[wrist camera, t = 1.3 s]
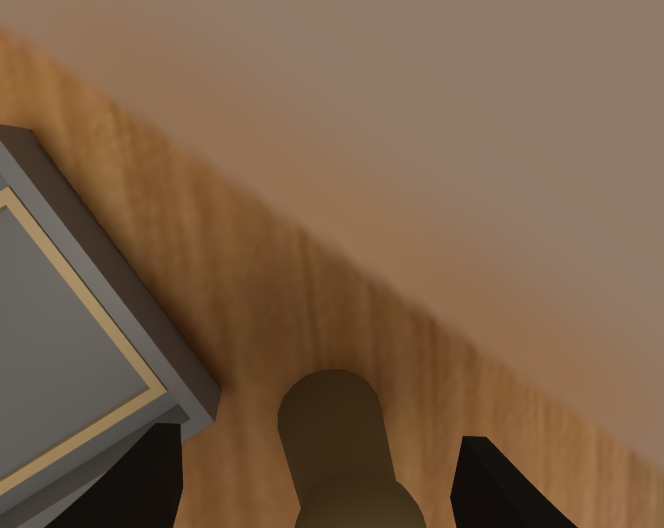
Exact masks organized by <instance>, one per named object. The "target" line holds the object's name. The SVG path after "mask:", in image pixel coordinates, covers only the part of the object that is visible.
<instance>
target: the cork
mask: <svg viewBox="0 0 664 528" xmlns="http://www.w3.org/2000/svg"><path fill="white" fill-rule="evenodd" d="M278 431H279V434H280V438H281V441H282V445H283V448H284V452H285V455H286V458H287V462H288V465H289V469H290V472H291V476H292V479H293V482H294V486H295V489H296V493H297V496H298V500H299V503H300V506H301V510H300V513H299V515H298V518H297V521H296V524H295V528H426V524H425V521H424V517H423V515H422V512H421V510H420V508H419V506H418V504H417V503H416V502H415V500H414V499H413V498H412V497H411V495H410V494H409V493H408V491H407V490H406V489H405V488H404V487H403V486H402V485H401V484H400V483H399V482H397V481H396V479H395V474H394V469H393V464H392V459H391V455H390V450H389V445H388V440H387V435H386V430H385V426H384V421H383V416H382V411H381V407H380V404H379V400H378V397H377V395H376V393H375V392H374V390H373V389H372V388H371V386H370V385H369V384H368V383H367V382H366V381H364V380H363V379H361V378H360V377H358V376H357V375H355V374H352V373H349V372H345V371H342V370H323V371H320V372H317V373H314V374H311V375H308V376H306V377H305V378H303V379H302V380H300V381H299V382H298V383H296V384H295V385H293V387H292V388H291V389H290V390H289V392H288V393H287V394H286V396H285V397H284V398H283V401H282V403H281V406H280V409H279V412H278Z"/></svg>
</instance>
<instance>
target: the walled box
mask: <svg viewBox="0 0 664 528" xmlns="http://www.w3.org/2000/svg"><path fill="white" fill-rule="evenodd" d="M221 390H222V389H221V388H220V387H219V385H218V384H217V383H216V381H215V380H214V378H213V377H212V376H211V374H210V373H209V372H208V370H207V369H206V368H205V366H204V365H203V364H202V362H201V361H200V360H199V358H198V357H197V355H196V354H195V353H194V351H193V350H192V349H191V347H190V346H189V345H188V343H187V342H186V341H185V339H184V338H183V337H182V335H181V334H180V333H179V331H178V330H177V328H176V327H175V326H174V324H173V323H172V322H171V320H170V319H169V318H168V316H167V315H166V314H165V312H164V311H163V310H162V308H161V307H160V305H159V304H158V303H157V301H156V300H155V299H154V297H153V296H152V295H151V293H150V292H149V291H148V289H147V288H146V287H145V285H144V284H143V282H142V281H141V280H140V278H139V277H138V276H137V274H136V273H135V272H134V270H133V269H132V268H131V266H130V265H129V264H128V262H127V261H126V260H125V258H124V257H123V255H122V254H121V253H120V251H119V250H118V249H117V247H116V246H115V245H114V243H113V242H112V241H111V239H110V238H109V237H108V235H107V234H106V232H105V231H104V230H103V228H102V227H101V226H100V224H99V223H98V222H97V220H96V219H95V218H94V216H93V215H92V214H91V212H90V211H89V209H88V208H87V207H86V205H85V204H84V203H83V201H82V200H81V199H80V197H79V196H78V195H77V193H76V192H75V191H74V189H73V188H72V187H71V185H70V184H69V182H68V181H67V180H66V178H65V177H64V176H63V174H62V173H61V172H60V170H59V169H58V168H57V166H56V165H55V164H54V162H53V161H52V159H51V158H50V157H49V155H48V154H47V153H46V151H45V150H44V149H43V147H42V146H41V145H40V143H39V142H38V141H37V139H36V138H35V136H34V135H33V134H32V132H31V131H30V130H29V129H24V128H18V127H13V126H7V125H1V124H0V528H44V527H45V526H46V525H47V524H49V523H50V522H51V521H52V520H54V519H55V518H56V517H57V516H58V515H60V514H61V513H62V512H63V511H64V510H65V509H66V508H68V507H69V506H70V505H71V504H72V503H73V502H74V501H75V500H77V499H78V498H79V497H80V496H81V495H82V494H83V493H85V492H86V491H87V490H88V489H89V488H90V487H91V486H92V485H93V484H94V483H95V482H96V481H98V480H99V479H100V478H101V477H102V476H103V475H104V474H105V473H106V472H107V471H108V470H109V469H110V468H111V467H112V466H113V465H114V464H115V463H116V462H117V461H118V460H119V459H120V458H121V457H122V456H123V455H124V454H125V453H126V452H127V451H128V450H129V449H130V448H131V447H132V446H133V445H134V444H135V443H136V442H137V441H138V440H139V439H140V438H141V437H142V436H143V435H144V434H145V433H146V432H147V431H148V430H149V429H150V428H151V426H153V425H154V424H155V423H174V424H181V443H183V442H184V441H186V440H188V439H189V438H191V437H193V436H194V435H196V434H197V433H199V432H201V431H202V430H204V429H205V428H207V427H209V426H210V425H212V424H213V423H215V419H216V414H217V409H218V405H219V400H220V395H221Z"/></svg>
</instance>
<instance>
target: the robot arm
mask: <svg viewBox="0 0 664 528" xmlns="http://www.w3.org/2000/svg"><path fill="white" fill-rule="evenodd" d="M182 490H183V470H182V446H181V424H174V423H155V424H154V425H153V426H151V428H150V429H149V430H148V431H147V432H146V433H145V434H144V435H143V436H142V437H141V438H140V439H139V440H138V441H137V442H136V443H135V444H134V445H133V446H132V447H131V448H130V449H129V450H128V451H127V452H126V453H125V454H124V455H123V456H122V457H121V458H120V459H119V460H118V461H117V462H116V463H115V464H114V465H113V466H112V467H111V468H110V469H109V470H108V471H107V472H106V473H105V474H104V475H103V476H102V477H101V478H100V479H99V480H98V481H96V482H95V483H94V484H93V485H92V486H91V487H90V488H89V489H88V490H87V491H86V492H85V493H83V494H82V495H81V496H80V497H79V498H78V499H77V500H75V501H74V502H73V503H72V504H71V505H70V506H69V507H68V508H66V509H65V510H64V511H63V512H62V513H61V514H60V515H58V516H57V517H56V518H55V519H54V520H52V521H51V522H50V523H49V524H47V525H46V526H45V527H44V528H173V525H174V521H175V518H176V514H177V510H178V506H179V502H180V498H181V494H182ZM450 499H451V504H452V508H453V513H454V518H455V523H456V527H457V528H578V527H576V526H575V525H574V524H573V523H572V522H571V521H570V520H569V519H568V518H566V517H565V516H564V515H563V514H562V513H561V512H560V511H559V510H558V509H557V508H556V507H555V506H554V505H553V504H552V503H551V502H550V501H549V500H547V499H546V498H545V497H544V496H543V495H542V494H541V493H540V492H539V491H538V490H537V489H536V488H535V487H534V486H533V485H532V484H531V483H530V482H529V481H528V480H527V479H526V478H525V477H524V475H523V474H522V473H521V472H520V471H519V470H518V469H517V468H516V467H515V466H514V465H513V464H512V463H511V462H510V461H509V460H508V459H507V458H506V457H505V456H504V455H503V454H502V453H501V452H500V450H499V449H498V448H497V447H496V446H495V445H494V444H493V443H492V442H491V441H490V440H489V439H488V438H487V437H476V436H463V438H462V443H461V448H460V452H459V457H458V462H457V467H456V472H455V476H454V481H453V486H452V491H451V496H450Z"/></svg>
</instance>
